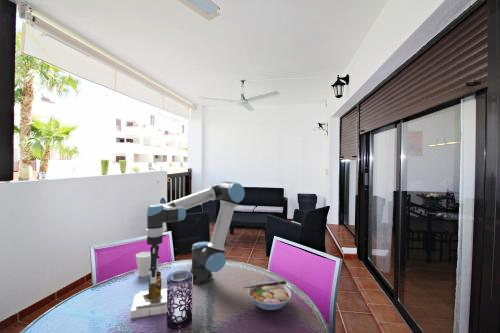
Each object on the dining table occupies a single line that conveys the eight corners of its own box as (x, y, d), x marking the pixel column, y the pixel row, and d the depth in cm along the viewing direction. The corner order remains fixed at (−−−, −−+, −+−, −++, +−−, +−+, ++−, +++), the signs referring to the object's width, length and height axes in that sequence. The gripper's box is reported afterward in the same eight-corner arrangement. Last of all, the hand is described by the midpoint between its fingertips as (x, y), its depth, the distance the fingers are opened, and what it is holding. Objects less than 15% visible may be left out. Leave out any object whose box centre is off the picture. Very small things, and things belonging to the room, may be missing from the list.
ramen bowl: (252, 322, 113) (252, 304, 113) (240, 297, 135) (241, 282, 135) (300, 315, 120) (301, 298, 120) (282, 292, 142) (282, 278, 142)
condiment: (163, 297, 123) (163, 274, 123) (145, 302, 118) (146, 277, 118) (159, 291, 129) (160, 268, 129) (142, 295, 124) (143, 272, 125)
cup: (149, 270, 167) (149, 250, 167) (154, 275, 159) (155, 254, 159) (132, 274, 160) (133, 253, 160) (138, 280, 152) (138, 258, 152)
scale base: (171, 296, 134) (171, 288, 134) (171, 313, 118) (171, 305, 118) (135, 300, 128) (135, 293, 129) (130, 319, 112) (130, 310, 113)
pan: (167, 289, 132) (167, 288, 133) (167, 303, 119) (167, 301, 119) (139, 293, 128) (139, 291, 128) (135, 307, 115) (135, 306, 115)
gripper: (149, 229, 135) (148, 267, 135) (144, 243, 111) (143, 289, 111) (163, 228, 137) (162, 266, 137) (161, 242, 113) (161, 287, 113)
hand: (154, 277), depth 124 cm, fingers open, 13 cm apart
